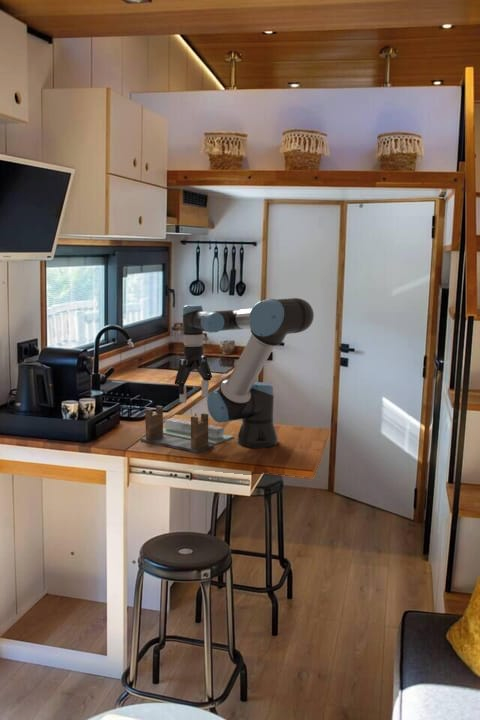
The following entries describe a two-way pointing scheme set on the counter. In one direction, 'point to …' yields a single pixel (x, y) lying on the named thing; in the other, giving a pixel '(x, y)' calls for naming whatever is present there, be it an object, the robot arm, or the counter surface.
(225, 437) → the sage mat
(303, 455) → the counter surface
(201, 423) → the hook rack
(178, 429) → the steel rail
